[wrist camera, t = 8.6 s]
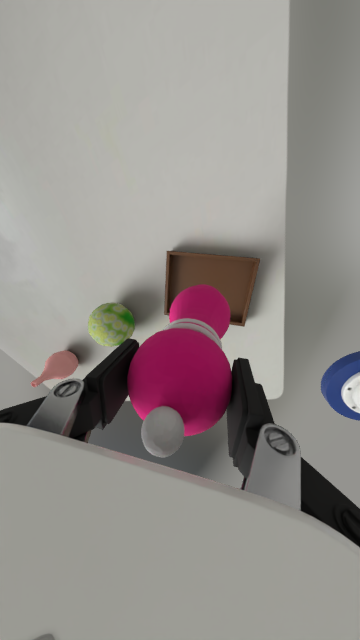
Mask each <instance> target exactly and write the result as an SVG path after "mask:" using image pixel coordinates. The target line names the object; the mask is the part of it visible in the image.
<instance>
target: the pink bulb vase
mask: <svg viewBox="0 0 360 640" xmlns="http://www.w3.org/2000/svg"><path fill="white" fill-rule="evenodd" d="M77 367H78V360H77V357H76V356H75V355H74V354H73V353H71V352H69V351H61V352H57V353H54V354H53V355H52V356H50V357H49V358H48V359H47V360H46V362H45V368H44V371H43V372H42V374H41V376H40V377H38V378H37V379H36V380H34V381H32V382H31V385H32V386H33V387H36V386H38V385H39V384H40V383H42V382H43V381H45V380H49V379H64V378H66V377H68V376H70V375H71V374H73V372H74V371H75V370H76V368H77Z"/></svg>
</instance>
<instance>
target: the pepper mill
mask: <svg viewBox="0 0 360 640" xmlns="http://www.w3.org/2000/svg"><path fill="white" fill-rule="evenodd" d="M169 319H170V324H168V325H167V326H166V327H165V328H164V329H163V331H160V332H157V333H155V334H154V335H153V336H151V337H150V338H148V339H147V340H146V341H145V342H144V343H143V344H142V345H141V346H140V347H139V348H138V350H137V352H136V353H135V355H134V357H133V359H132V361H131V363H130V367H129V371H128V376H127V387H128V393H129V397H130V400H131V403H132V405H133V407H134V408H135V410H136V412H137V413H138V415H139V416H140V418H141V419H143V420H144V422H143V425H142V431H141V437H142V441H143V444H144V446H145V448H146V449H147V450H148V452H150V453H151V454H153V455H154V456H157V457H167V456H170V455H171V454H173V453H174V452H176V451H177V450H178V449H179V447H180V445H181V443H182V441H183V437H184V436H191V435H195V434H199V433H201V432H203V431H205V430H207V429H209V428H211V427H212V426H214V425H215V423H217V421H219V420H220V418H221V417H222V416H223V414H224V413H225V411H226V409H227V407H228V404H229V401H230V398H231V394H232V373H231V368H230V364H229V362H228V360H227V358H226V355H225V353H224V352H223V351H222V344H221V341H220V339H221V338H222V337H223V336H224V334H225V333H226V331H227V329H228V327H229V323H230V308H229V305H228V302H227V301H226V299H225V297H224V296H223V295H222V294H221V293H220V292H219V291H218V290H217V289H216V288H214V287H212V286H210V285H205V284H201V285H196V286H192V287H189V288H187V289H185V290H183V291H182V292H180V293H179V294H178V295H177V297H176V298H175V299H174V301H173V303H172V305H171V308H170V314H169Z"/></svg>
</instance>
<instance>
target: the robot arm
mask: <svg viewBox="0 0 360 640" xmlns="http://www.w3.org/2000/svg"><path fill="white" fill-rule="evenodd" d="M138 348H139V343H138V342H137V341H136V340H134V339H129V338H128V339H126V340H125V341H124V342H123V343H122V344H121V345H120V346H119V347H117V348H116V349H115V350H114V351H113V352H112V353H111V354H110V355H109V356H108V357H106V358H105V359H104V360H103V361H102V362H101V363H100V364H99V365H98V366H97V367H95V368H94V369H93V370H92V371H91V372H90V373H89V374H88V375H87V376H86V377H85V378H84V379H83V380H80V379H68V380H65V381H62V382H60V383H58V384H57V385H56V386H54V387H53V388H52V390H51V391H50V392H49V394H48V395H47V396H46V397H43V398H39V399H36V400H33V401H29V402H26V403H23V404H19V405H16V406H13V407H10V408H6V409H3V410H1V411H0V640H360V509H359V508H358V507H357V506H356V505H355V504H354V503H353V502H352V501H350V500H349V499H348V498H347V497H346V496H345V495H343V494H342V493H341V492H340V491H339V490H338V489H337V488H336V487H334V486H333V485H332V484H331V483H330V482H329V481H328V480H327V479H325V478H324V477H323V476H322V475H321V474H320V473H319V472H318V471H316V470H315V469H314V468H313V467H312V466H311V465H309V463H307V462H306V461H305V460H304V459H303V458H302V457H301V451H300V446H299V444H298V442H297V440H296V439H295V438H294V436H293V435H292V434H291V433H290V432H288V431H287V430H286V429H284V428H283V427H281V426H279V425H276V424H274V421H273V418H272V415H271V412H270V409H269V406H268V402H267V399H266V396H265V393H264V390H263V387H262V385H261V384H257V383H255V382H254V378H253V375H252V371H251V368H250V364H249V361H248V359H243V358H238V359H237V360H234V363H233V367H232V372H231V373H232V394H231V398H230V401H229V404H228V407H227V426H228V446H229V456H230V457H232V458H233V464H234V466H235V467H238V469H239V471H240V472H241V473H242V474H243V476H244V477H243V481H242V484H241V488H240V489H238V488H235V487H232V486H229V485H225V484H222V483H219V482H216V481H212V480H209V479H206V478H202V477H199V476H196V475H193V474H189V473H186V472H182V471H179V470H176V469H173V468H169V467H166V466H163V465H160V464H156V463H152V462H149V461H146V460H142V459H140V458H136V457H132V456H129V455H126V454H123V453H119V452H116V451H113V450H109V449H106V448H103V447H99V446H96V445H92V444H88V440H89V437H90V434H91V430H93V429H94V428H99V429H102V430H103V429H104V427H105V426H106V424H109V423H110V422H111V421H112V419H113V418H114V417H115V415H116V413H117V412H118V410H119V409H120V407H121V406H122V404H123V403H124V401H125V399H126V398H127V396H128V395H129V393H128V387H127V376H128V371H129V367H130V363H131V361H132V359H133V357H134V355H135V353H136V352H137V350H138ZM341 396H342V399H343V401H344V402H345V404H346V405H347V406H348V407H349V408H350V409H352V410H353V411H355V412H358V413H360V372H358V373H357V374H355V375H353V376H352V377H350V378H349V379H348V380H347V381H346V382H345V383H344V385H343V387H342V390H341Z"/></svg>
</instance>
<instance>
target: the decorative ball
mask: <svg viewBox="0 0 360 640" xmlns="http://www.w3.org/2000/svg"><path fill="white" fill-rule="evenodd" d="M134 329H135V322H134V318H133V315H132V313H131V312H130V311H129V310H128V309H127V308H126V307H124V306H123V305H121V304H118V303H106V304H102V305H101V306H99V307H98V308H96V309H95V310H94V311H93V312H92V314H91V315H90V317H89V322H88V330H89V333H90V335H91V336H92V338H93V339H94V340H95V341H96V342H98V343H99V344H101V345H103V346H111V347H112V346H117V345H120V344H122V343H123V342H124V341H125V340H126V339H128V338H130V337H131V336H132V334H133V332H134Z"/></svg>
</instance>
